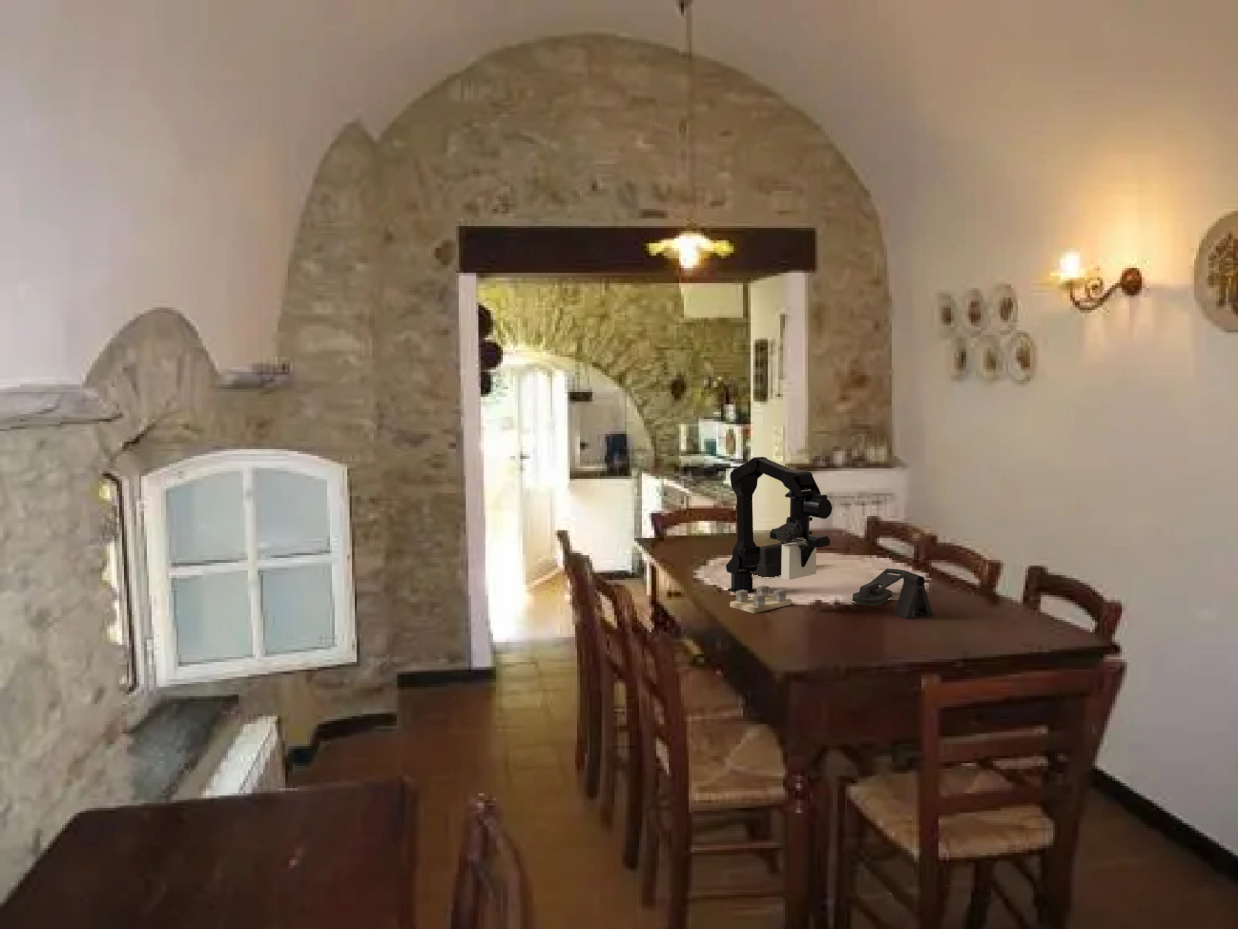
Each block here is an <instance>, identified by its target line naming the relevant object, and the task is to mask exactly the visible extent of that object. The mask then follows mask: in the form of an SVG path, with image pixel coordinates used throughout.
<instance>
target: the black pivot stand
mask: <svg viewBox="0 0 1238 929" xmlns="http://www.w3.org/2000/svg"><path fill="white" fill-rule="evenodd" d="M908 572H909V573H907V572H906V573H905V574H904V576H903V578H902V579H903V583H902V586H901V590H900V593H899V595H898V599H897V602H896V605H895V608H894V611H893V614H894V615H895V616H899V617H900V618H902V619H905V620H912V619H920V618H930V617H933V616H934V614H933V610H932V606H931V604H930V600H929V597H928V593H927V591H926V586H925V582H926V578H925V577H924V576H922V575H920V574H916V573H912V572H910V571H908Z"/></svg>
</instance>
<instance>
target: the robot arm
mask: <svg viewBox="0 0 1238 929" xmlns="http://www.w3.org/2000/svg"><path fill="white" fill-rule="evenodd" d="M763 475H766V476H768V477H771V478H773V479H775V480H776V481H777V480H778V481H780V482H781V483H782V484H783V486H784V487H785V489H787V490H789V491H788V492H786V494H784V497H785V498H790V500H789V503H790V504H789V516H788V517H786V521H785V523H784V524H782V525H781V526H780V525H779V527H776V528H772V529H771V530H770V531H769V539H772V540H777V541H778V542H779V543H782V544H788V543H793V542H798V541H803V545H798V546H799V548H800V549H801V566H802V567H805V565H806V563H807V561H808V559H809V557H810V555H811V553H812V552H813V550H814V549H815V548H816V549H818V548H823V547H824V548H825V547H828V546H830V545H831V539H830V537H829V535H825V534H820V533H818V534H814V535H813V531H812V530H810V522H811V521H813V518H818V519H823V520H825V519H828V518H829V517H830V516H831V514H832V511H833V505H832V503H831V501H830V499H828V495H827V494H821V491H820V488H819V487H818V484H817V482H816V479H815V478H814V476H813V475H814V474H813V473H812V472H811V471H809V470H806V469H805V470H803V469H793V468H789V467H788V466H784V465H782V464H780V463H777V462H776V461H774V460H773V461H772V460H771V459H768V458H767V457H765V456H755V457H752V458H751V459H749V460H748V461H747V462H744V463H743V464H741V465H739V466H738V467H735V468H733V469H732V470H731V471H730V474H729V477H730V478H729V479H730V485H731V486H730V487H731V489H732V490H733V491H732V492H734V494H735V496H736V527H737V529H736V530H737V532H736V534H737V535H736V536H737V541H736V542H735V544H734V547H733V548H732V555H731V558H730V559H729V561H728V562H726V565H725V568H726V570H725V571H726V573H729V574H731V575H730V576H731V577H730V578H731V579H730V580H731V581H730V582H731V583H730V587H729V588H727V591H730V592H733V593H734V592H735V593H736V591H740V590H746V591H748V593H751V592H755V591H756V588H753V584H754V581H753V580H754V579H753V575H752V571H756V570H757V566H758V564H759V560H760V559H761V557H760V547H761V546H760V545H757V544H756V542H755V541H754V515H753V514H754V512H753V510H754V508H753V507H754V506H753V495H754V493H755V492H756V489H757V487H758V480H759V479H760V478H761V477H762V476H763ZM754 590H755V591H754Z"/></svg>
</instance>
